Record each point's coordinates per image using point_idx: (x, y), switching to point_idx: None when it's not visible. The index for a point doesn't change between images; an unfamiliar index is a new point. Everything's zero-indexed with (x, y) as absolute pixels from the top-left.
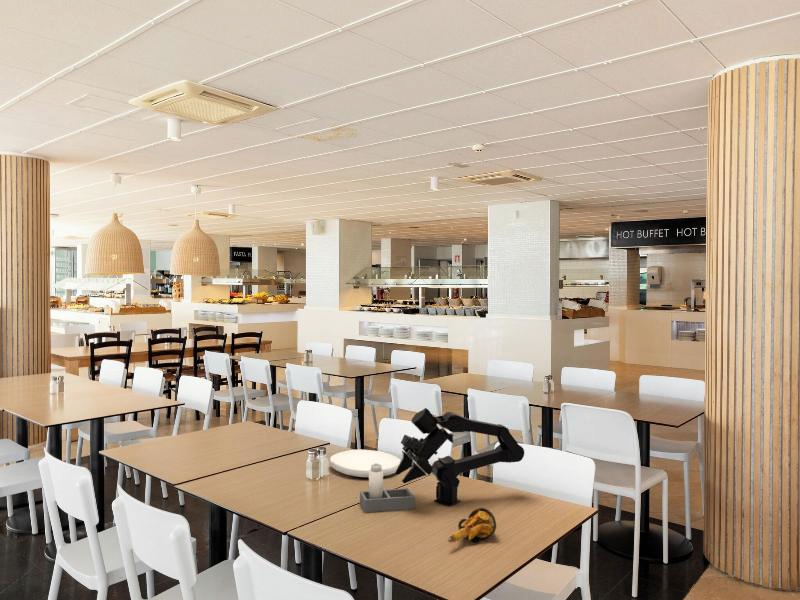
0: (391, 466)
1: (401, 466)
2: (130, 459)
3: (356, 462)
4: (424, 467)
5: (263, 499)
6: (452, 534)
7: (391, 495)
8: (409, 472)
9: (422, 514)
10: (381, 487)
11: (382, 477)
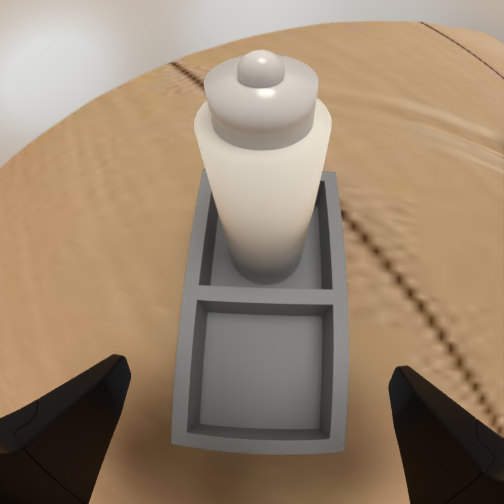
0: None
1: (430, 435)
2: (478, 32)
3: None
4: None
5: (365, 47)
6: None
7: (326, 345)
8: (28, 405)
9: (119, 432)
10: (225, 226)
11: (221, 191)
